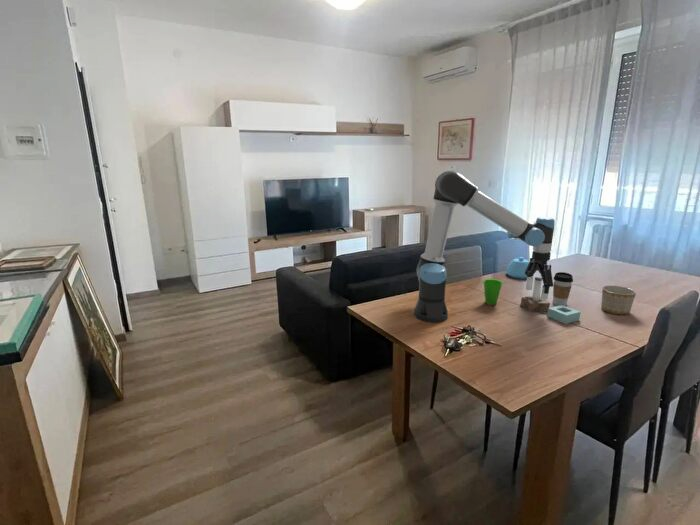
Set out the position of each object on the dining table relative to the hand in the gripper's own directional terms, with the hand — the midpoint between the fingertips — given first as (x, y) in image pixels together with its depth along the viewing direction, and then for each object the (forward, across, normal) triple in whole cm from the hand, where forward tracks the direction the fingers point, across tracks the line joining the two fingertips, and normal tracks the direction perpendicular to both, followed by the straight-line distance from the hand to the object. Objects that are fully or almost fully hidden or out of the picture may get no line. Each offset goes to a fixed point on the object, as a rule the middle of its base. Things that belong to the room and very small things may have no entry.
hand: (536, 294), depth 178 cm
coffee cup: (+7, +4, -15) cm, 17 cm away
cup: (+7, +8, +18) cm, 21 cm away
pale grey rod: (+7, 0, 0) cm, 7 cm away
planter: (+7, -7, -35) cm, 36 cm away
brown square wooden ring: (+7, 0, 0) cm, 7 cm away
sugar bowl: (+7, +50, -18) cm, 54 cm away
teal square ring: (+7, -13, -6) cm, 16 cm away
